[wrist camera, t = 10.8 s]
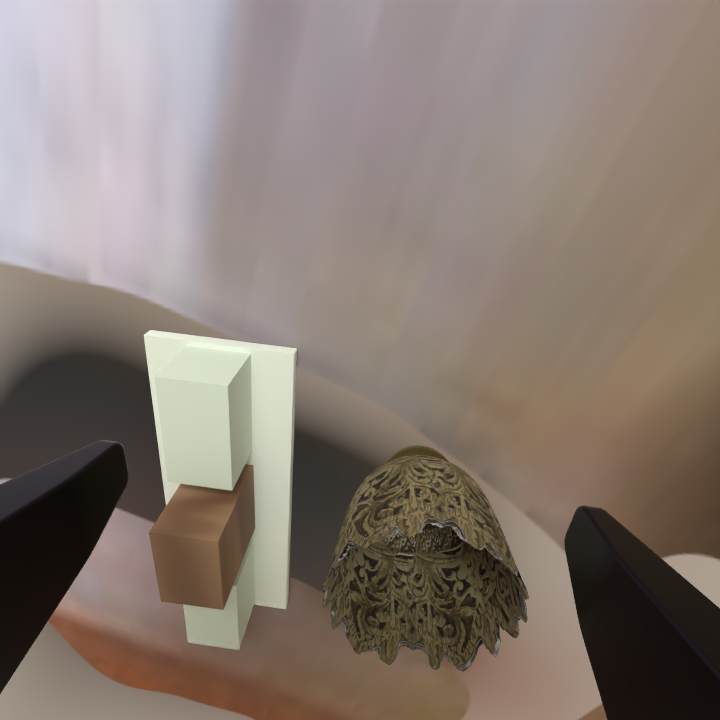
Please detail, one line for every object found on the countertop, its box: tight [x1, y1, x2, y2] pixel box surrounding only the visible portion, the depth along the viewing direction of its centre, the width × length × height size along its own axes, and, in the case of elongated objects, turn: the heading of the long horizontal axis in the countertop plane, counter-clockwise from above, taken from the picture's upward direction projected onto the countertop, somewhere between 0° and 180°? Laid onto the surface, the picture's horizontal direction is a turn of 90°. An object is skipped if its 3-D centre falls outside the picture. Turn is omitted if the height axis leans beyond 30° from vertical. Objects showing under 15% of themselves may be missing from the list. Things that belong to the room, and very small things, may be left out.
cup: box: [323, 446, 529, 671], centre depth 20 cm, size 8×7×8 cm
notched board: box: [144, 330, 297, 650], centre depth 24 cm, size 7×18×4 cm, turn 174°
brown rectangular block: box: [149, 464, 255, 610], centre depth 23 cm, size 3×4×5 cm, turn 175°
